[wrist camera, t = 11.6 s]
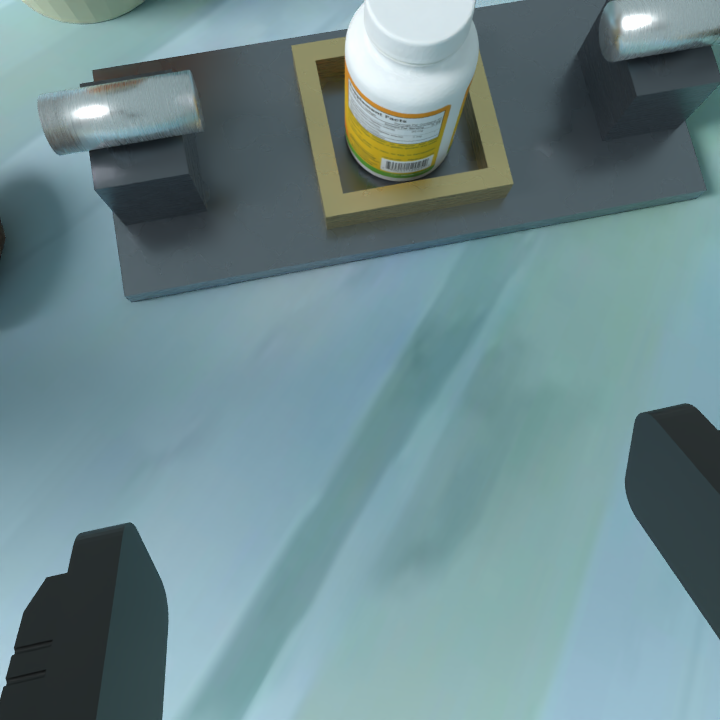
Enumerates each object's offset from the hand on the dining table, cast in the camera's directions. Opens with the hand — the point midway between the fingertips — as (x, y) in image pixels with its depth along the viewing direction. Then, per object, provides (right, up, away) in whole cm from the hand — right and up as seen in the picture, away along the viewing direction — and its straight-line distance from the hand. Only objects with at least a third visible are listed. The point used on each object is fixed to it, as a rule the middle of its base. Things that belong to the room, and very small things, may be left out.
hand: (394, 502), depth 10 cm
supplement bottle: (+1, +14, +23) cm, 26 cm away
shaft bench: (+1, +14, +23) cm, 27 cm away
